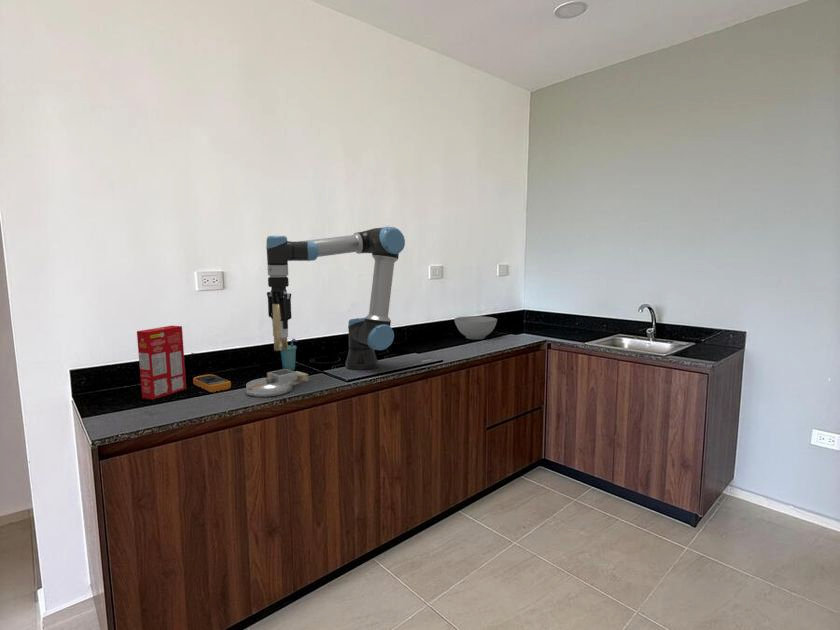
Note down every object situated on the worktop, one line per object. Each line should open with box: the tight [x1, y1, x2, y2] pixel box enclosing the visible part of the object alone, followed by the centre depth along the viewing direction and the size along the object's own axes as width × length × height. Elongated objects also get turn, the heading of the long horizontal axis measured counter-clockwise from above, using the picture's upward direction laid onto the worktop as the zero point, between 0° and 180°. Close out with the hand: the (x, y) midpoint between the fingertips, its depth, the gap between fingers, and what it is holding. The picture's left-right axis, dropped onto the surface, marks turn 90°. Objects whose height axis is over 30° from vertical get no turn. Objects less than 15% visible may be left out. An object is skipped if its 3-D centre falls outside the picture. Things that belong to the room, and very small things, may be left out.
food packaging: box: [136, 325, 187, 401], centre depth 173 cm, size 15×5×25 cm, turn 159°
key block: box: [292, 370, 309, 386], centre depth 191 cm, size 8×8×3 cm
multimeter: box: [192, 374, 232, 393], centre depth 184 cm, size 9×18×3 cm, turn 47°
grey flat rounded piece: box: [245, 368, 297, 398], centre depth 178 cm, size 18×17×6 cm
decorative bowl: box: [453, 315, 498, 340], centre depth 291 cm, size 27×27×12 cm
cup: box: [280, 338, 299, 371], centre depth 210 cm, size 14×8×15 cm, turn 48°
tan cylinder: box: [272, 303, 289, 352], centre depth 178 cm, size 5×5×18 cm
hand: (280, 336), depth 179 cm, fingers closed on tan cylinder, 5 cm apart
